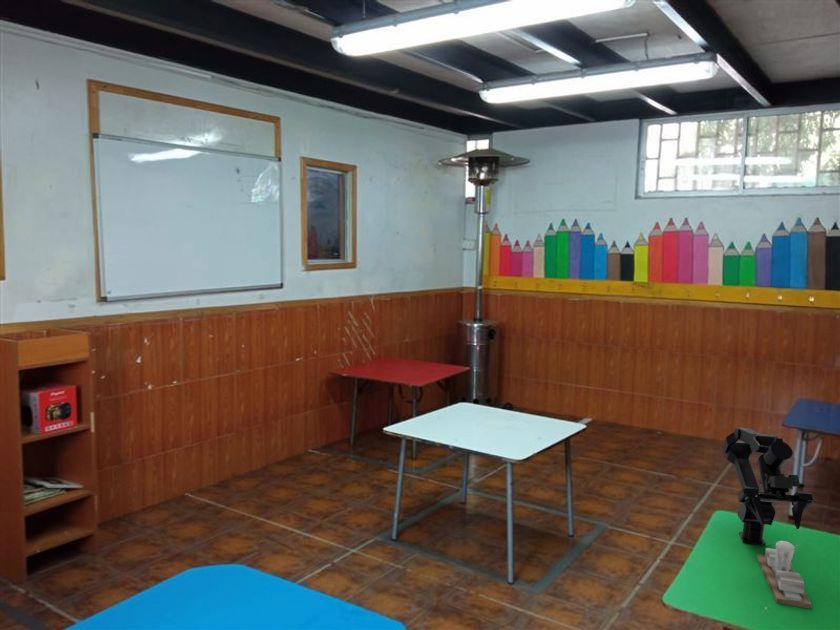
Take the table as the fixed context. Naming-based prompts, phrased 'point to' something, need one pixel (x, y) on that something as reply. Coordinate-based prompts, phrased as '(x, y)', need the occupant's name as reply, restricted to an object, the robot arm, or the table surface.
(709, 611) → the table surface
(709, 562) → the table surface
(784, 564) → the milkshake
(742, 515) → the robot arm
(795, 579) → the wooden board with pads
